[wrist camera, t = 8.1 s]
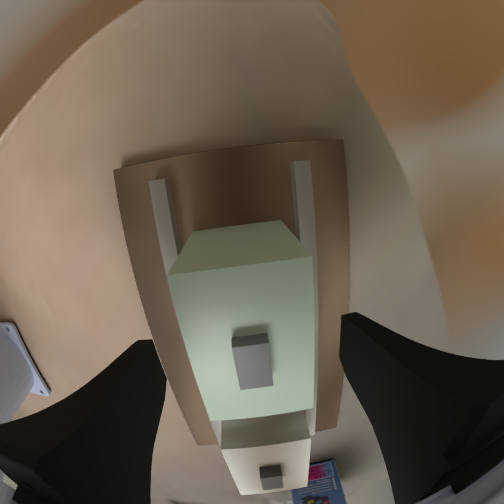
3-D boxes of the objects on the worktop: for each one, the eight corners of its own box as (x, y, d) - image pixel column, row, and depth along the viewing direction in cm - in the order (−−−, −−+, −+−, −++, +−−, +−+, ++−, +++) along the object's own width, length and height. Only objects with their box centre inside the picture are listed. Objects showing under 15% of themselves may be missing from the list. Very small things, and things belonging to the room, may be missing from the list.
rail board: (198, 436, 20) (193, 510, 13) (120, 169, 14) (32, 178, 6) (333, 419, 21) (358, 488, 13) (336, 141, 14) (421, 125, 7)
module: (215, 344, 16) (210, 431, 10) (192, 231, 14) (162, 282, 8) (289, 335, 16) (316, 417, 10) (280, 219, 14) (317, 262, 8)
